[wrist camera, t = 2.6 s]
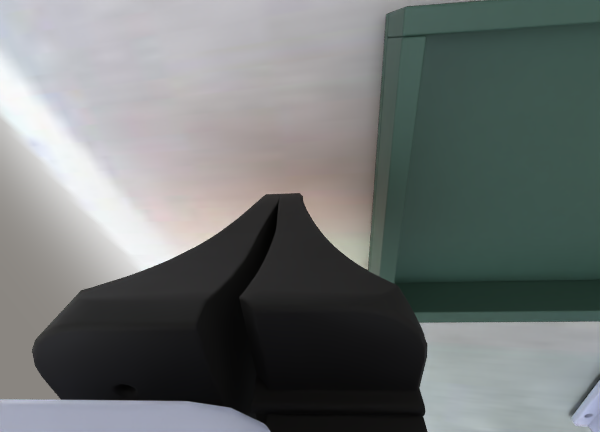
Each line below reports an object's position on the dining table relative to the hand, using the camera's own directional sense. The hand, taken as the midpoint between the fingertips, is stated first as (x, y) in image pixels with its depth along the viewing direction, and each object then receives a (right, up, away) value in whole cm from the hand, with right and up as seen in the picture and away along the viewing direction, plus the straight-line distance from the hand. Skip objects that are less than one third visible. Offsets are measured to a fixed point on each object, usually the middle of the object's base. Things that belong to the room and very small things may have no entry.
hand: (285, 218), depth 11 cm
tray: (+11, +2, +2) cm, 11 cm away
